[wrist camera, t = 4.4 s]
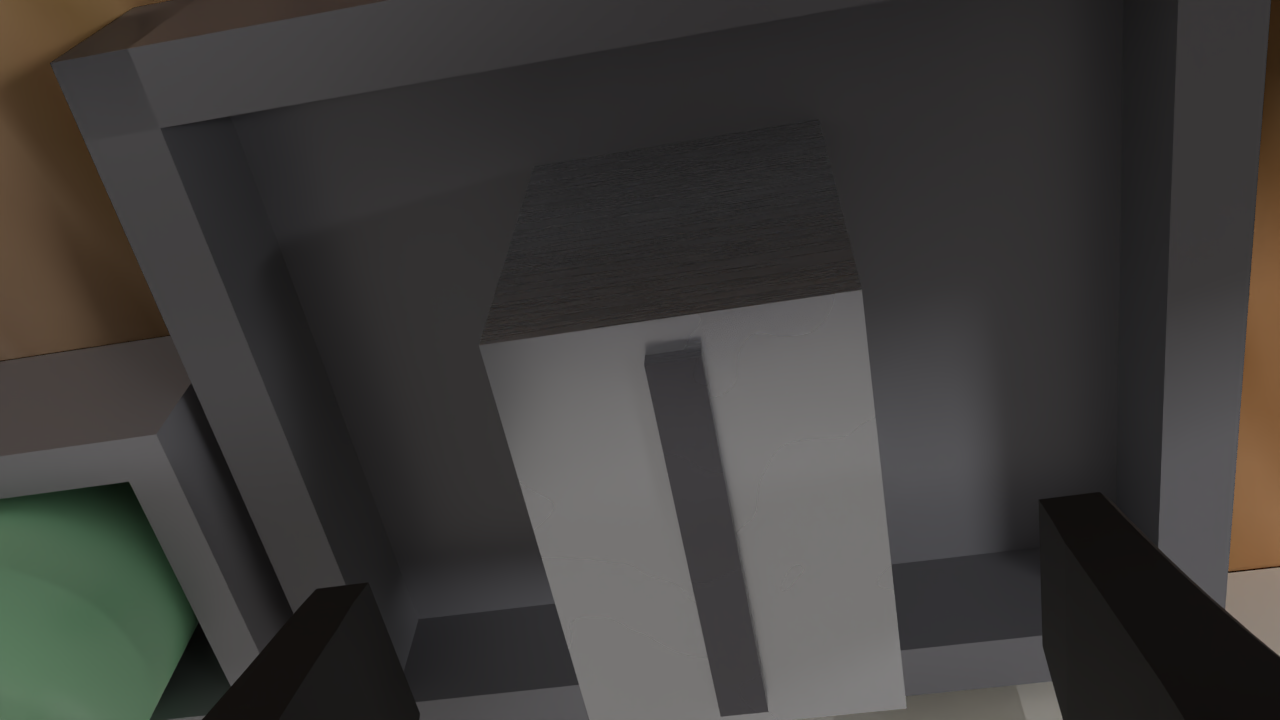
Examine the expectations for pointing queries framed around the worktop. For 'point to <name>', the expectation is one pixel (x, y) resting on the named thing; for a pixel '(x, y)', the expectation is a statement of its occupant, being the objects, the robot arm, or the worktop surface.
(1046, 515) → the robot arm
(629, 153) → the block
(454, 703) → the tote
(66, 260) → the worktop surface
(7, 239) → the worktop surface
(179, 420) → the button housing
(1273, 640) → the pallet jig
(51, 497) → the button
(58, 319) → the worktop surface
